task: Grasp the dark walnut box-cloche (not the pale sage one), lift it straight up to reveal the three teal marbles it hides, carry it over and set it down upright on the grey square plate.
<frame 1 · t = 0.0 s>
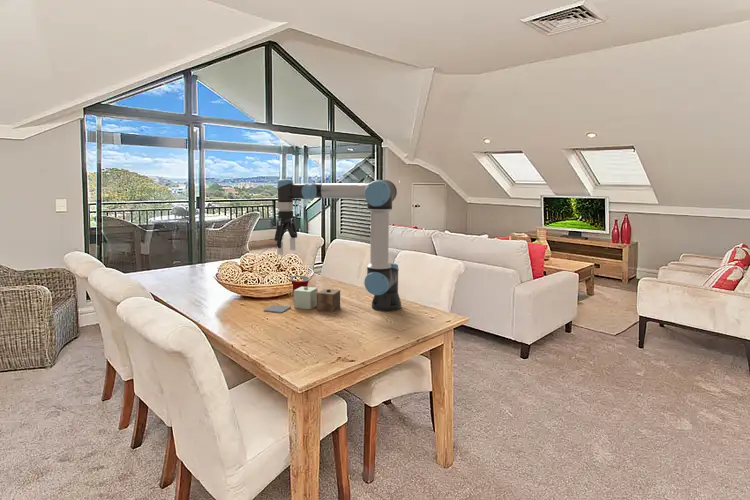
hand: (286, 252, 241), 28 cm above the table, fingers open, 13 cm apart
marbles: (328, 308, 241), on the table
grey square plate: (277, 309, 239), on the table
walnut cover: (328, 308, 241), on the table
sage cover: (306, 306, 245), on the table
plastic cup: (300, 299, 259), on the table
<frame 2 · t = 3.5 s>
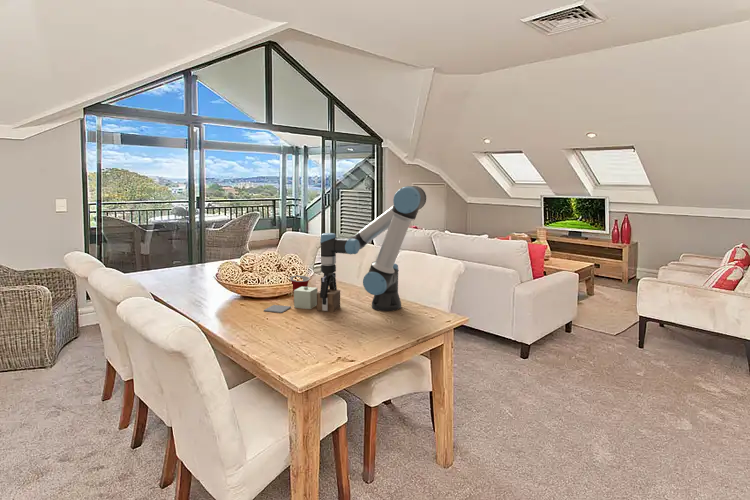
hand: (328, 307, 241), 0 cm above the table, fingers closed on walnut cover, 9 cm apart
walnut cover: (328, 308, 241), on the table, touching gripper
everything else where it was.
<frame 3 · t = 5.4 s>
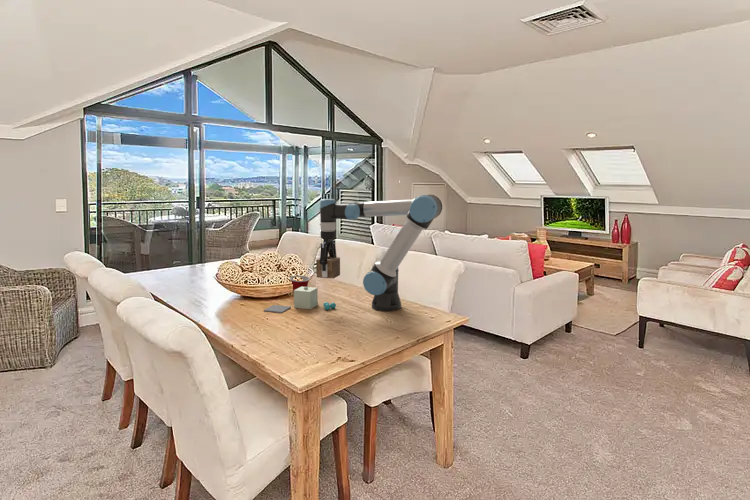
hand: (328, 275, 238), 17 cm above the table, fingers closed on walnut cover, 9 cm apart
walnut cover: (328, 276, 238), point 17 cm above the table, touching gripper
everything else where it was.
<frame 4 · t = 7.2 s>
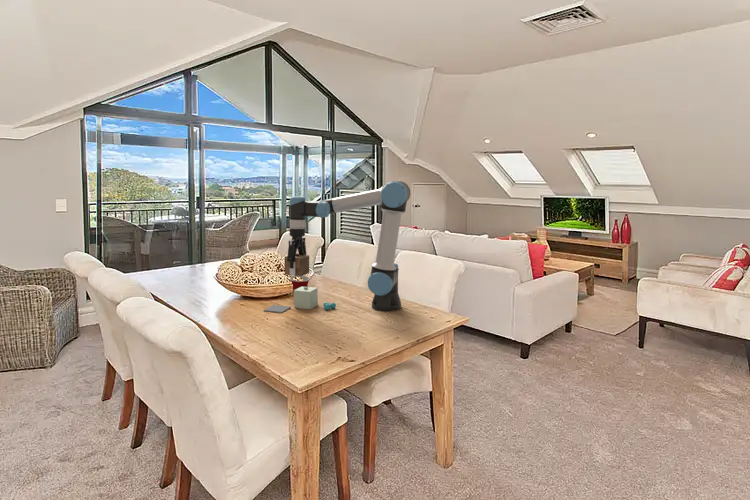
hand: (296, 272, 237), 19 cm above the table, fingers closed on walnut cover, 9 cm apart
walnut cover: (297, 273, 237), point 18 cm above the table, touching gripper
everything else where it was.
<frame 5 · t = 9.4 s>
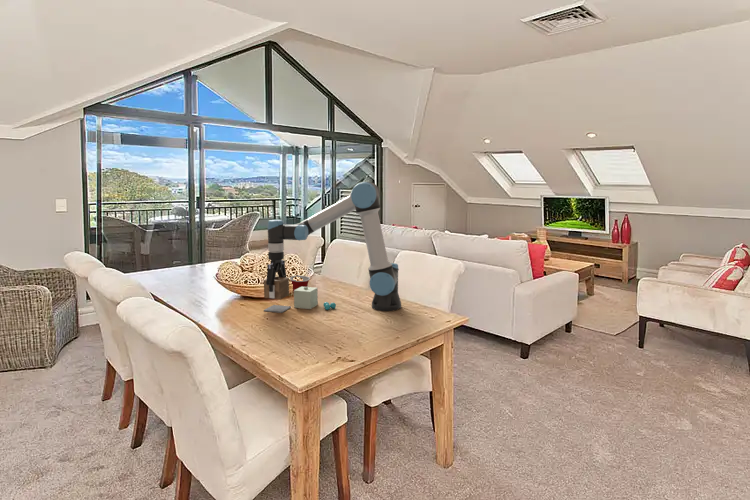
hand: (276, 295, 238), 7 cm above the table, fingers closed on walnut cover, 9 cm apart
walnut cover: (276, 296, 238), point 7 cm above the table, touching gripper
everything else where it was.
when the fingers open (2 cm above the table, at t = 11.1 s): walnut cover drops 1 cm, resting on grey square plate.
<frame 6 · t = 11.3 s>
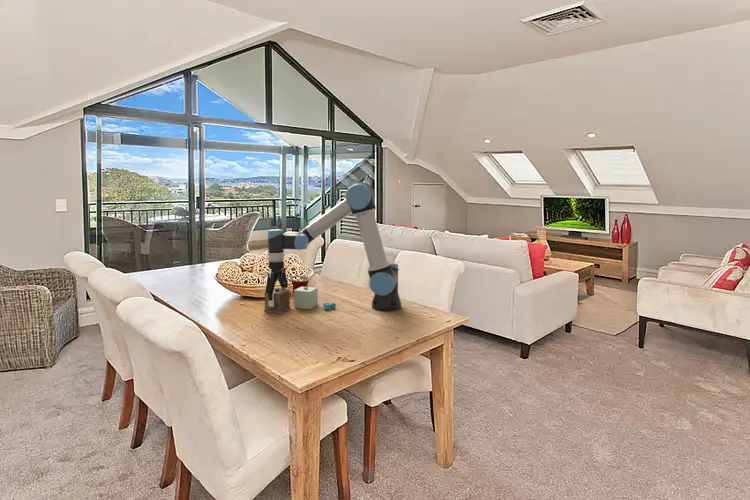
hand: (277, 303, 239), 3 cm above the table, fingers open, 11 cm apart
walnut cover: (277, 308, 239), point 1 cm above the table, touching grey square plate
everything else where it was.
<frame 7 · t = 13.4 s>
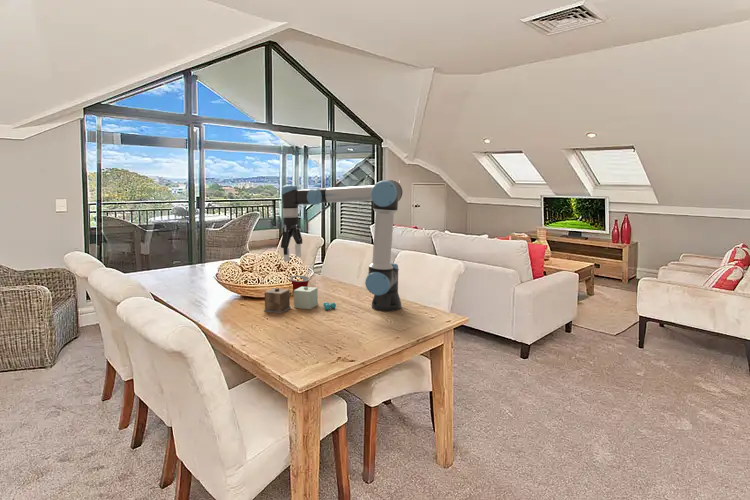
hand: (292, 258, 239), 25 cm above the table, fingers open, 13 cm apart
nothing on the table moved.
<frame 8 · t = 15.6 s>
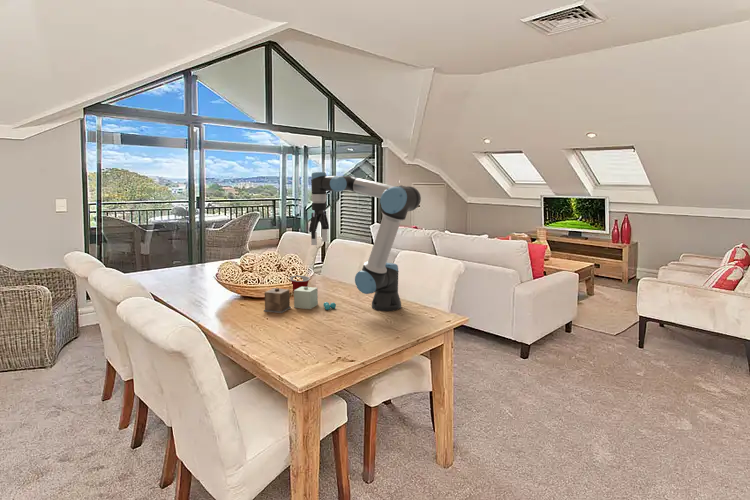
hand: (319, 243, 248), 32 cm above the table, fingers open, 13 cm apart
nothing on the table moved.
at the end: walnut cover inside the target area on the grey square plate (0.0 cm from its centre), point 0.6 cm above the grey square plate's base; walnut cover tilted 0°; the gripper is holding nothing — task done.
